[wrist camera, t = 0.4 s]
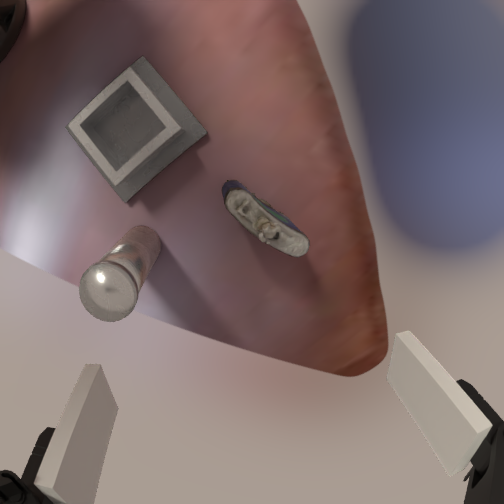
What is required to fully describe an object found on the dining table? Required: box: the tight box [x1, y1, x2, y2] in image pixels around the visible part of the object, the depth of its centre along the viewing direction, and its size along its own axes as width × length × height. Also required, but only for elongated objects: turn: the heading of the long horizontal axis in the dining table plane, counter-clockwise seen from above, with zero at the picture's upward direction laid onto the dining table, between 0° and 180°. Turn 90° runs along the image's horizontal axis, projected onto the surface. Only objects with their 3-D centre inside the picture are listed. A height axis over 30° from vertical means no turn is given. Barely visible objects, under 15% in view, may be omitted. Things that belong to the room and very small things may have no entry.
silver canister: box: [79, 226, 161, 322], centre depth 30 cm, size 5×5×14 cm
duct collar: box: [65, 56, 207, 203], centre depth 30 cm, size 12×12×5 cm
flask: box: [222, 180, 310, 257], centre depth 32 cm, size 9×3×11 cm, turn 53°
